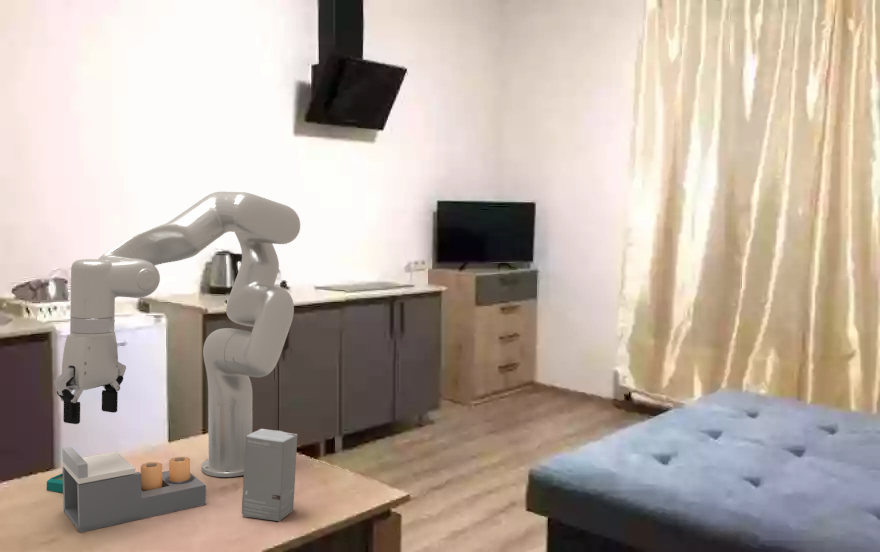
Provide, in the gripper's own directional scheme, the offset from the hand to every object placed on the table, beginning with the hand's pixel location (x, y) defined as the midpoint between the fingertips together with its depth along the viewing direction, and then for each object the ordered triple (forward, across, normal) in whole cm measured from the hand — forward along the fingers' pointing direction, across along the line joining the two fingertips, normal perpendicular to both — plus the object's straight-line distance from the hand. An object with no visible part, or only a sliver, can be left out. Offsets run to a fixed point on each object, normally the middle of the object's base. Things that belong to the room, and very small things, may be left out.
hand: (91, 417), depth 151 cm
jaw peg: (+19, -10, +6) cm, 22 cm away
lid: (+10, -2, +1) cm, 10 cm away
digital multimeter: (+20, -16, -15) cm, 29 cm away
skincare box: (+19, -15, +30) cm, 38 cm away
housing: (+19, -7, +4) cm, 21 cm away
